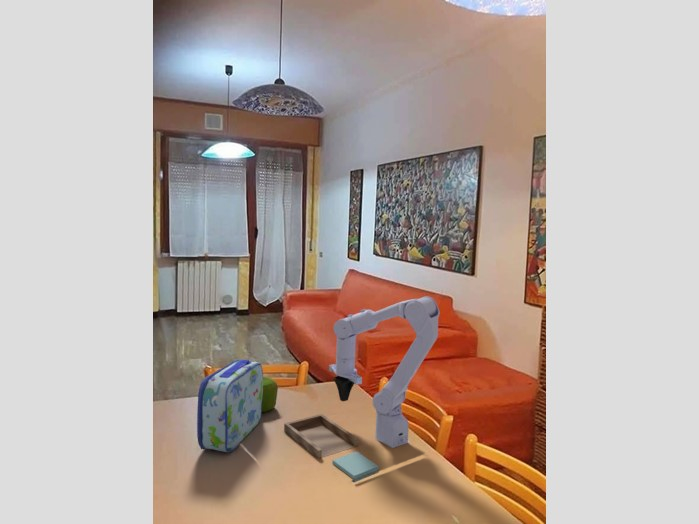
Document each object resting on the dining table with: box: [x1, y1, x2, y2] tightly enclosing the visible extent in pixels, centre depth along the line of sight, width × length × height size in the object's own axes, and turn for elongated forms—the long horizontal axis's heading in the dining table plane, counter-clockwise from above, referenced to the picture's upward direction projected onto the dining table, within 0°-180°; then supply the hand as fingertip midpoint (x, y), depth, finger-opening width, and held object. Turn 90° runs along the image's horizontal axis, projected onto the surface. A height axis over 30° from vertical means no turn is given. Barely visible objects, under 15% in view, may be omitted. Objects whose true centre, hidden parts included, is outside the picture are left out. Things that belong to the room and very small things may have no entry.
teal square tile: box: [331, 451, 380, 483], centre depth 120 cm, size 9×8×2 cm
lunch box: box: [196, 359, 264, 453], centre depth 135 cm, size 26×11×21 cm, turn 168°
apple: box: [261, 376, 279, 413], centre depth 155 cm, size 11×11×11 cm
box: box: [283, 413, 359, 460], centre depth 135 cm, size 19×13×3 cm
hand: (344, 400), depth 144 cm, fingers closed
